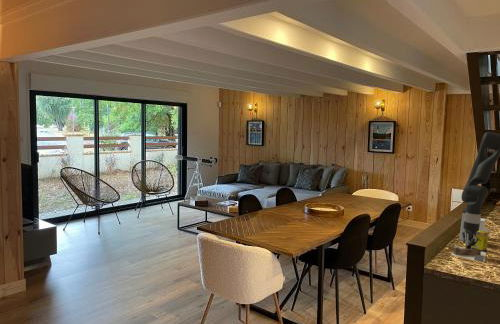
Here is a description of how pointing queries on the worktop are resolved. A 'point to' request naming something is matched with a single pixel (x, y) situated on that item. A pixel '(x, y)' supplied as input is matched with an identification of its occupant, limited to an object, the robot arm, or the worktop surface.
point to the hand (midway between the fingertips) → (467, 251)
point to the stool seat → (470, 256)
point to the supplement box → (481, 240)
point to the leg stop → (479, 258)
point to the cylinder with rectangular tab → (483, 225)
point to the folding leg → (466, 251)
